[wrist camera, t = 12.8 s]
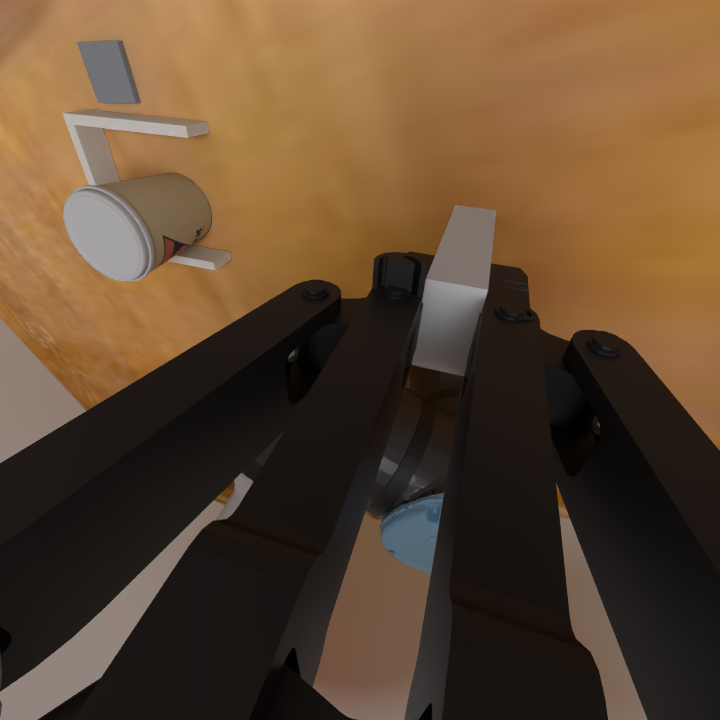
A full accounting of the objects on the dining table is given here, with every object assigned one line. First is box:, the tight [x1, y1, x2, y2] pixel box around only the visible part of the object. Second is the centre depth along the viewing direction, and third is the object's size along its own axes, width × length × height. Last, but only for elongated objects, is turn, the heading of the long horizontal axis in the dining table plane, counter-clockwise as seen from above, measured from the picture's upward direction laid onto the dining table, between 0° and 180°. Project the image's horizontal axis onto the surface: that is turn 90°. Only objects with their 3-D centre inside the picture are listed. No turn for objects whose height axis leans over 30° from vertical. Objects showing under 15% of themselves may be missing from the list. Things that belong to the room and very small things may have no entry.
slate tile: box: [77, 40, 141, 103], centre depth 40 cm, size 5×5×1 cm
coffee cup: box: [63, 173, 211, 281], centre depth 42 cm, size 9×9×12 cm
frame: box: [63, 110, 231, 270], centre depth 45 cm, size 15×15×4 cm
